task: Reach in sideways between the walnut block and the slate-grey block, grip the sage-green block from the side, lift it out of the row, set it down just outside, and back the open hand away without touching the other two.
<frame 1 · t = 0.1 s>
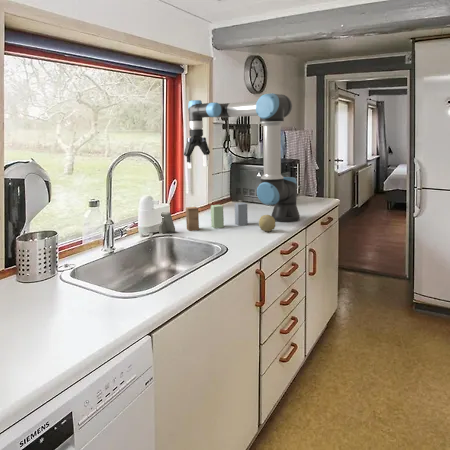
hand: (197, 167, 250), 28 cm above the worktop, tool pointing down, fingers open, 13 cm apart
walnut block: (192, 229, 220), on the worktop
potato: (267, 231, 212), on the worktop
sage green block: (217, 226, 225), on the worktop
slate grey block: (241, 224, 229), on the worktop
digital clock: (160, 231, 219), on the worktop
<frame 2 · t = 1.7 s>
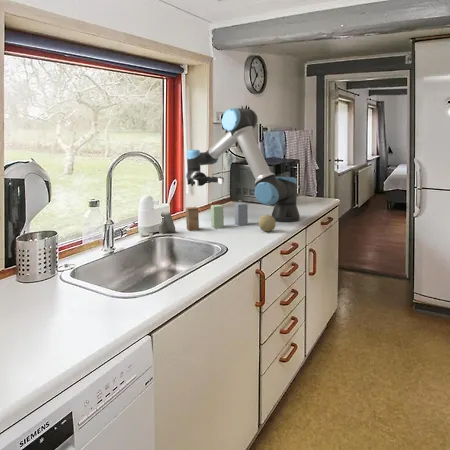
hand: (210, 182, 229), 22 cm above the worktop, tool horizontal, fingers open, 13 cm apart
nothing on the worktop moved.
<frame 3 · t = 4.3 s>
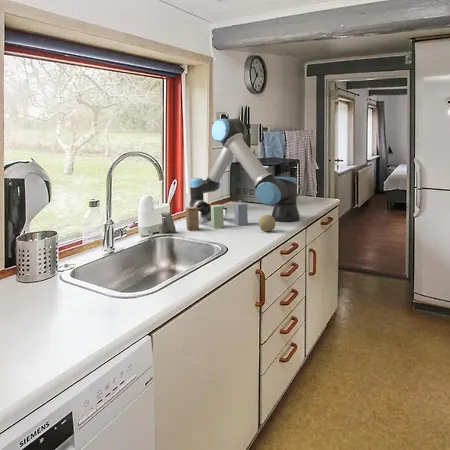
hand: (213, 214, 227), 6 cm above the worktop, tool horizontal, fingers open, 13 cm apart
nothing on the worktop moved.
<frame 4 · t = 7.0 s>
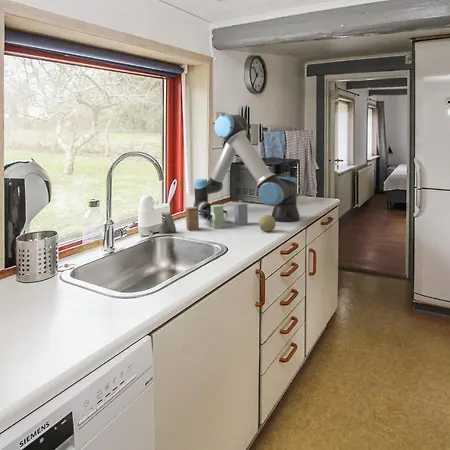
hand: (220, 217, 218), 6 cm above the worktop, tool horizontal, fingers closed on sage green block, 5 cm apart
sage green block: (217, 226, 225), on the worktop, touching gripper
everything else where it was.
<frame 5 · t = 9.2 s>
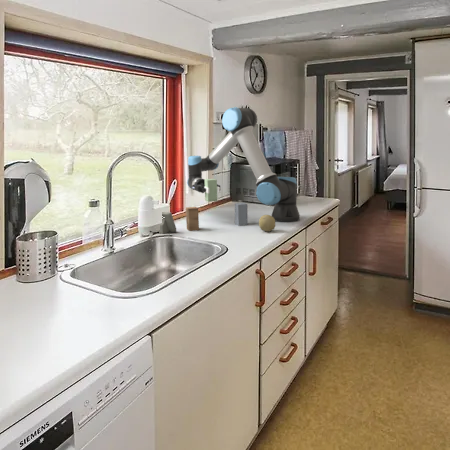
hand: (214, 190, 224), 18 cm above the worktop, tool horizontal, fingers closed on sage green block, 5 cm apart
sage green block: (211, 200, 230), point 12 cm above the worktop, touching gripper
everything else where it was.
when the fingers open (7 cm above the worktop, at t = 11.8 s): sage green block drops 1 cm, on the worktop.
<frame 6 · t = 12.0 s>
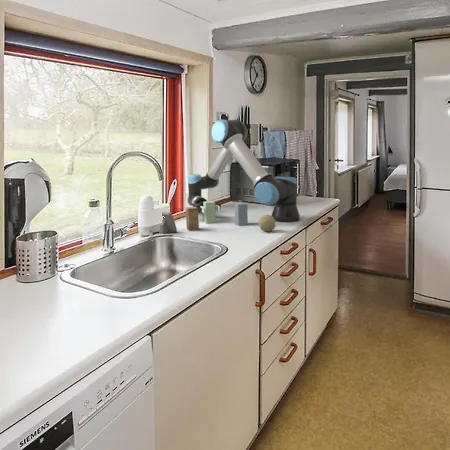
hand: (212, 209, 231), 7 cm above the worktop, tool horizontal, fingers open, 8 cm apart
sage green block: (209, 222, 237), on the worktop
everything else where it was.
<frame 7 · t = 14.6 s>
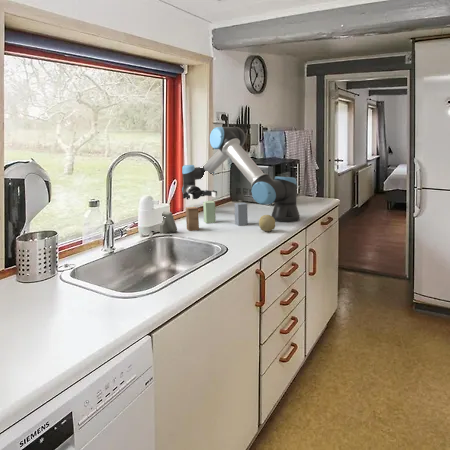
hand: (204, 196, 244), 13 cm above the worktop, tool horizontal, fingers open, 13 cm apart
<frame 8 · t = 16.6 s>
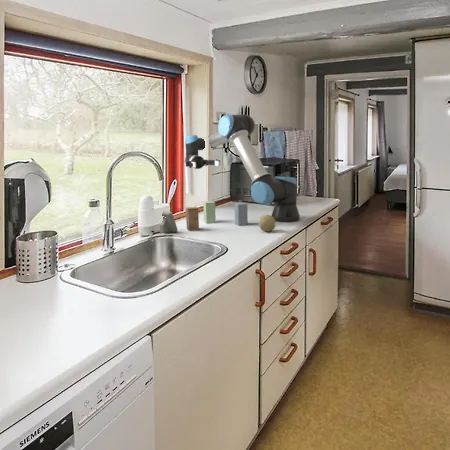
hand: (207, 164, 242), 30 cm above the worktop, tool horizontal, fingers open, 13 cm apart
at the end: sage green block inside the target area (0.1 cm from its centre), on the worktop; walnut block moved 0.0 cm from its start; slate grey block moved 0.0 cm from its start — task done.
